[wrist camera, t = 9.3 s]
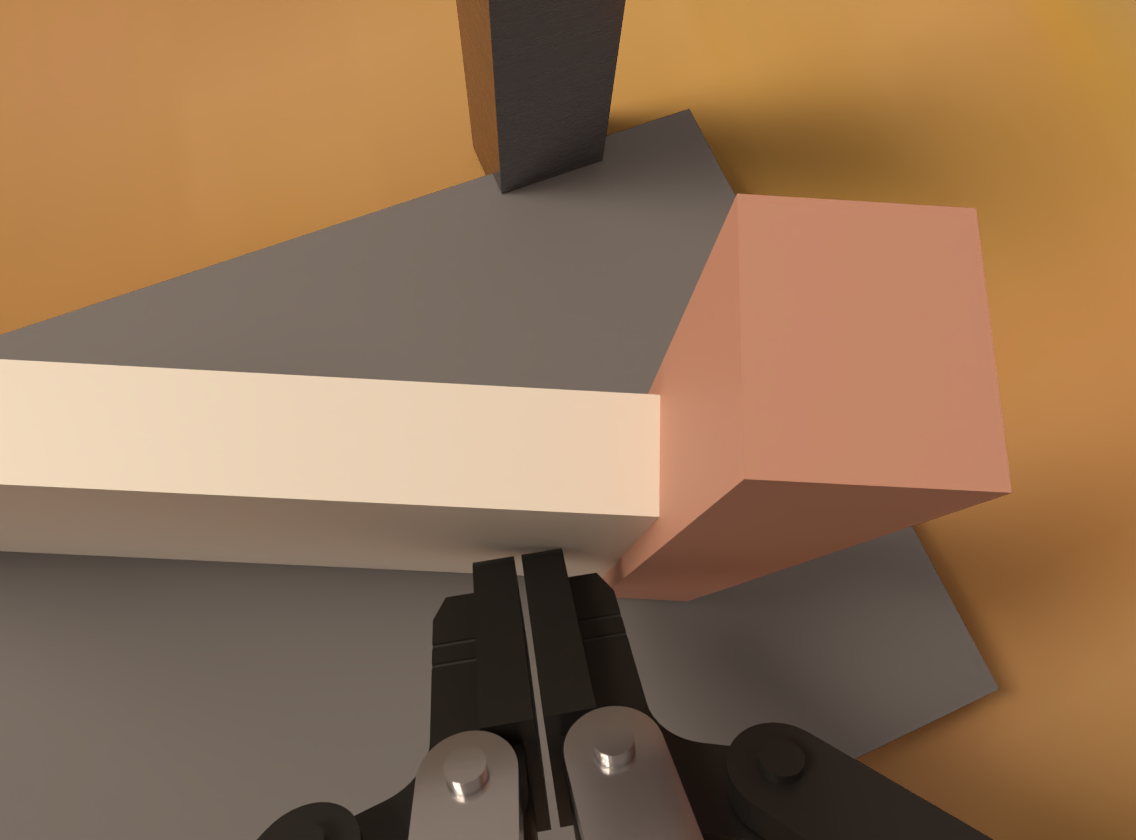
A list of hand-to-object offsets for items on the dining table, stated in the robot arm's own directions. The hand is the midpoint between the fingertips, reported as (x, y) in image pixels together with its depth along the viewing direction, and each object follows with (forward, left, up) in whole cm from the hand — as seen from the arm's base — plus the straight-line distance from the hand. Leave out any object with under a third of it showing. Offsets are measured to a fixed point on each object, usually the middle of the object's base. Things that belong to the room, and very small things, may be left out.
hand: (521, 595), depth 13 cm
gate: (-6, +1, -4) cm, 7 cm away
